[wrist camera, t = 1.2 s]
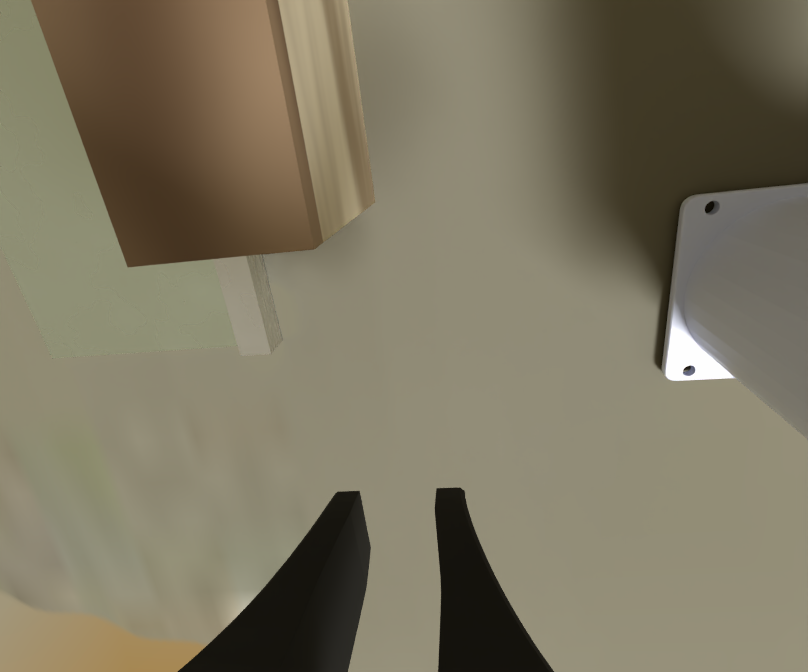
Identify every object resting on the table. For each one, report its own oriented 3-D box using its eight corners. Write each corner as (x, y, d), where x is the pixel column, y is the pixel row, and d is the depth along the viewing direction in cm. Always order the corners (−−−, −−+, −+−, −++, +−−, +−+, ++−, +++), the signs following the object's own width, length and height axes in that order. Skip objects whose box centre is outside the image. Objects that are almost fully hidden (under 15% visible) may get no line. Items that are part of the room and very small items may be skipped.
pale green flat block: (144, -231, 14) (111, -269, 13) (282, 340, 22) (270, 353, 21) (-173, -144, 16) (-231, -170, 15) (56, 356, 24) (32, 369, 23)
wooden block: (343, -31, 16) (224, -209, 8) (375, 202, 19) (314, 248, 11) (212, -6, 17) (-22, -146, 9) (263, 214, 20) (127, 267, 12)
